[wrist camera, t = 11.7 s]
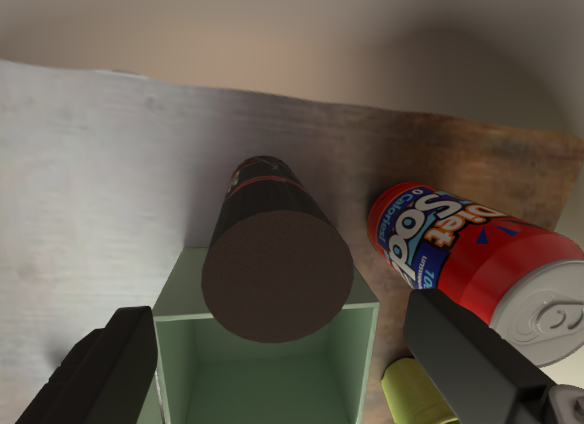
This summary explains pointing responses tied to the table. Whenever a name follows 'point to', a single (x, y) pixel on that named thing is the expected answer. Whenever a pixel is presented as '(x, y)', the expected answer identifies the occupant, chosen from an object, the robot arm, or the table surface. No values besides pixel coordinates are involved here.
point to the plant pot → (414, 395)
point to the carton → (258, 361)
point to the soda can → (486, 266)
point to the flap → (151, 407)
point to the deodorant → (274, 258)
